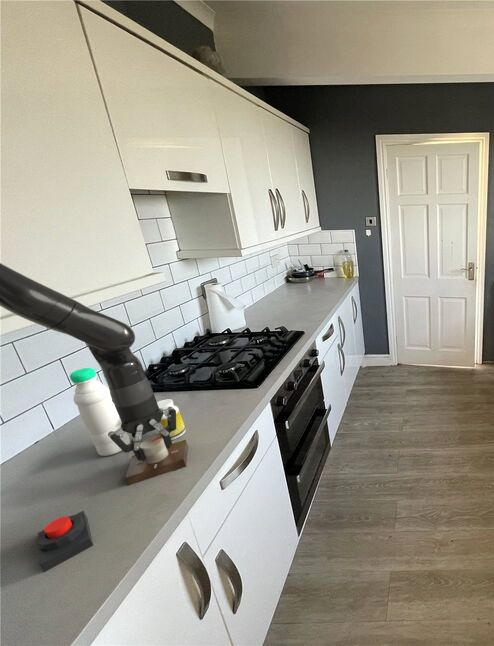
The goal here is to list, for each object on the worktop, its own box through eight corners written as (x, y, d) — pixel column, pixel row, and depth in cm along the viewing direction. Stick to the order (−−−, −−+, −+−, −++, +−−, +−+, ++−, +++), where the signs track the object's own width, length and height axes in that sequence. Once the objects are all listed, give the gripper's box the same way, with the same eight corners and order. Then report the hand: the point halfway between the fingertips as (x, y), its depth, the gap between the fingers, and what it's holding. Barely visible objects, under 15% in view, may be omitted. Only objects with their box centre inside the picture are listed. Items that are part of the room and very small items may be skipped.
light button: (47, 531, 70) (43, 525, 70) (71, 519, 73) (68, 513, 72) (48, 542, 68) (44, 536, 67) (73, 529, 71) (70, 523, 70)
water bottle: (117, 456, 95) (82, 377, 86) (91, 457, 95) (53, 378, 86) (137, 439, 102) (106, 364, 93) (113, 440, 102) (80, 364, 93)
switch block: (42, 540, 72) (33, 526, 71) (87, 517, 77) (80, 504, 76) (44, 572, 66) (35, 557, 65) (93, 545, 71) (86, 531, 70)
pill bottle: (190, 427, 107) (180, 396, 103) (178, 441, 101) (166, 409, 97) (169, 428, 106) (158, 398, 102) (156, 442, 100) (143, 410, 96)
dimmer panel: (128, 485, 86) (124, 477, 85) (135, 463, 93) (131, 455, 92) (186, 466, 91) (183, 458, 90) (188, 446, 98) (185, 438, 98)
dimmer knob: (149, 466, 88) (142, 450, 86) (143, 458, 91) (136, 442, 89) (171, 455, 92) (165, 439, 90) (164, 448, 94) (158, 432, 92)
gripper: (100, 417, 77) (126, 476, 83) (173, 388, 88) (192, 442, 94) (91, 406, 81) (116, 463, 87) (162, 380, 92) (180, 433, 98)
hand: (155, 452), depth 91 cm, fingers closed on dimmer knob, 5 cm apart
